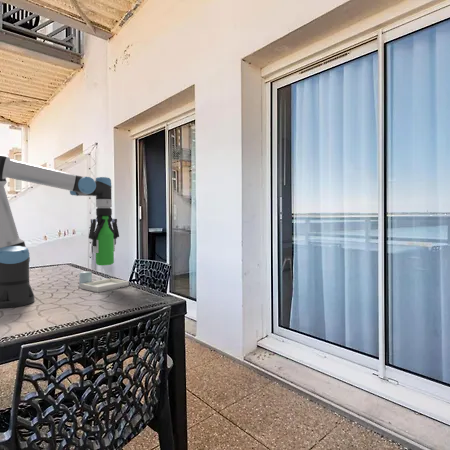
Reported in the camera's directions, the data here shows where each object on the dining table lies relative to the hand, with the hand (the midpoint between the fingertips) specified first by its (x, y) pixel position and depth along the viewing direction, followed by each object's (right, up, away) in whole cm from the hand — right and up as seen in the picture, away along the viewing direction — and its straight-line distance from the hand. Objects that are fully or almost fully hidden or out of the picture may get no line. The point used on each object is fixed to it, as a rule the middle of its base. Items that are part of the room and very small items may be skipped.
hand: (104, 251), depth 166 cm
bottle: (0, -7, 0) cm, 7 cm away
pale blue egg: (-12, -18, +5) cm, 22 cm away
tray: (0, -18, 0) cm, 18 cm away
